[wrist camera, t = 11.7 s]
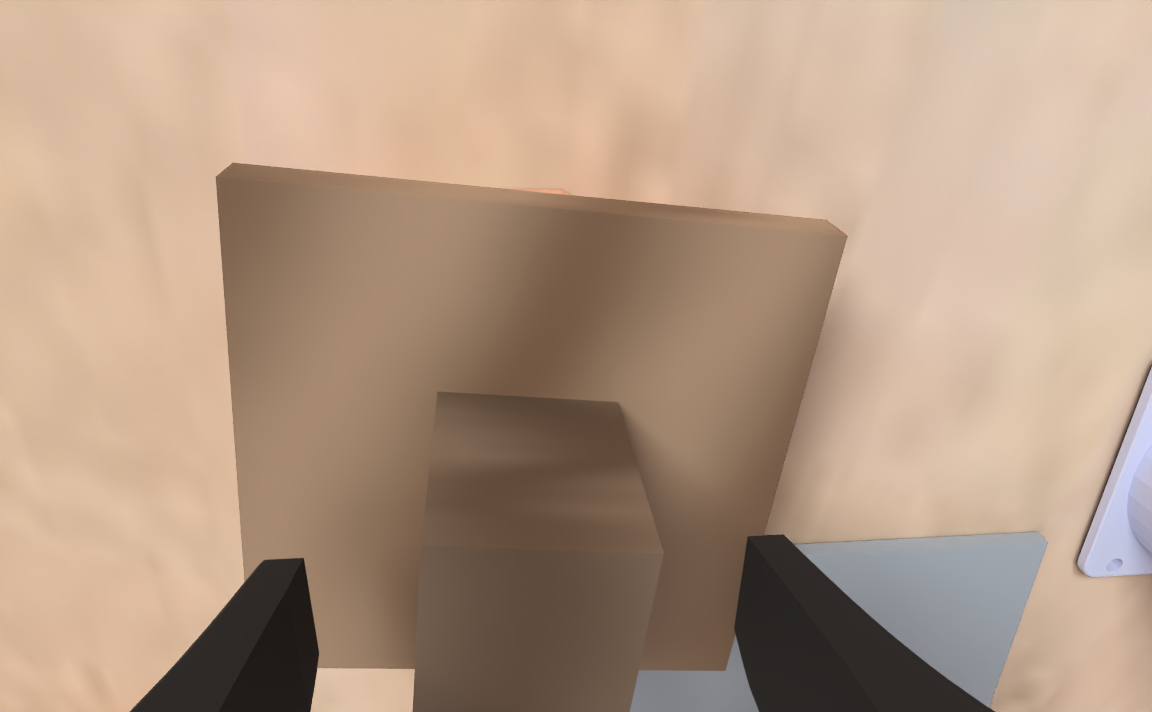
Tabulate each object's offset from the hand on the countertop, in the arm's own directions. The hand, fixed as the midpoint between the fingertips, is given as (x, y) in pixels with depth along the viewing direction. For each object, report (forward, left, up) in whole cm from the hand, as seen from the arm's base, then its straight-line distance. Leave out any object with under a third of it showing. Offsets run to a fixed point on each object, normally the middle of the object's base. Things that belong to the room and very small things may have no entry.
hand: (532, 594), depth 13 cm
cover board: (0, 0, -4) cm, 5 cm away
